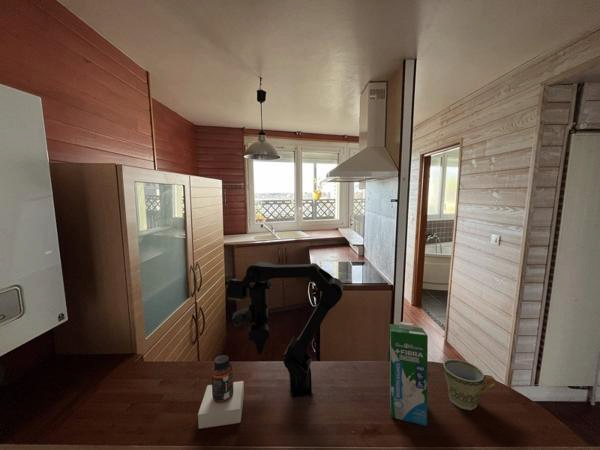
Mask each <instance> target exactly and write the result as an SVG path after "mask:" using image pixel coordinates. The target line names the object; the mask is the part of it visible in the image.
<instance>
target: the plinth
mask: <svg viewBox="0 0 600 450" xmlns="http://www.w3.org/2000/svg"><path fill="white" fill-rule="evenodd" d="M244 385H245V384H244V381H243V380H241V381H233V389H234V391H233V396H232V397H231V398H230V399H229V400H228V401H226V402H222V403H218V402H215V401H214V400H213V396H212V384H208V385H207V386H206V389H205V392H204V394H203V399H202V400H201V404H200V407H199V410H198V413H197V422H198V423H197V424H198V429H205V428H206V429H207V428H213V427H219V426H226V425H234V424H240V423H241V420H242V414H243V413H242V412H243V404H244V394H245V389H244Z"/></svg>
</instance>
